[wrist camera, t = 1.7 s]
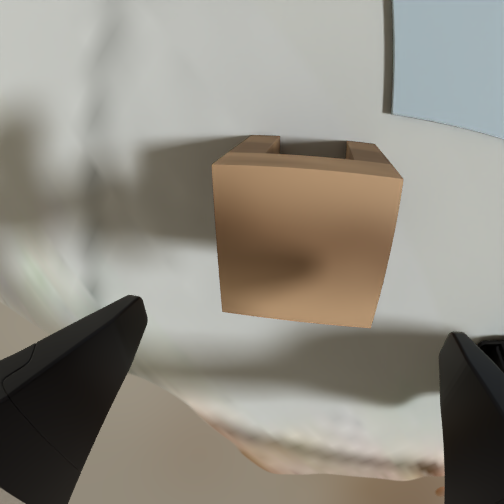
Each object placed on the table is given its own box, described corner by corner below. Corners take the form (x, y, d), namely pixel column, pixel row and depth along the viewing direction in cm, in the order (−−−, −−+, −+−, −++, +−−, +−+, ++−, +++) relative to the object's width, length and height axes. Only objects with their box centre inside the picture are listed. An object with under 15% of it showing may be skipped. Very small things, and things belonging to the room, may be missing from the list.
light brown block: (360, 253, 18) (370, 328, 13) (253, 242, 19) (222, 311, 14) (374, 144, 15) (403, 179, 9) (251, 135, 16) (211, 164, 11)
